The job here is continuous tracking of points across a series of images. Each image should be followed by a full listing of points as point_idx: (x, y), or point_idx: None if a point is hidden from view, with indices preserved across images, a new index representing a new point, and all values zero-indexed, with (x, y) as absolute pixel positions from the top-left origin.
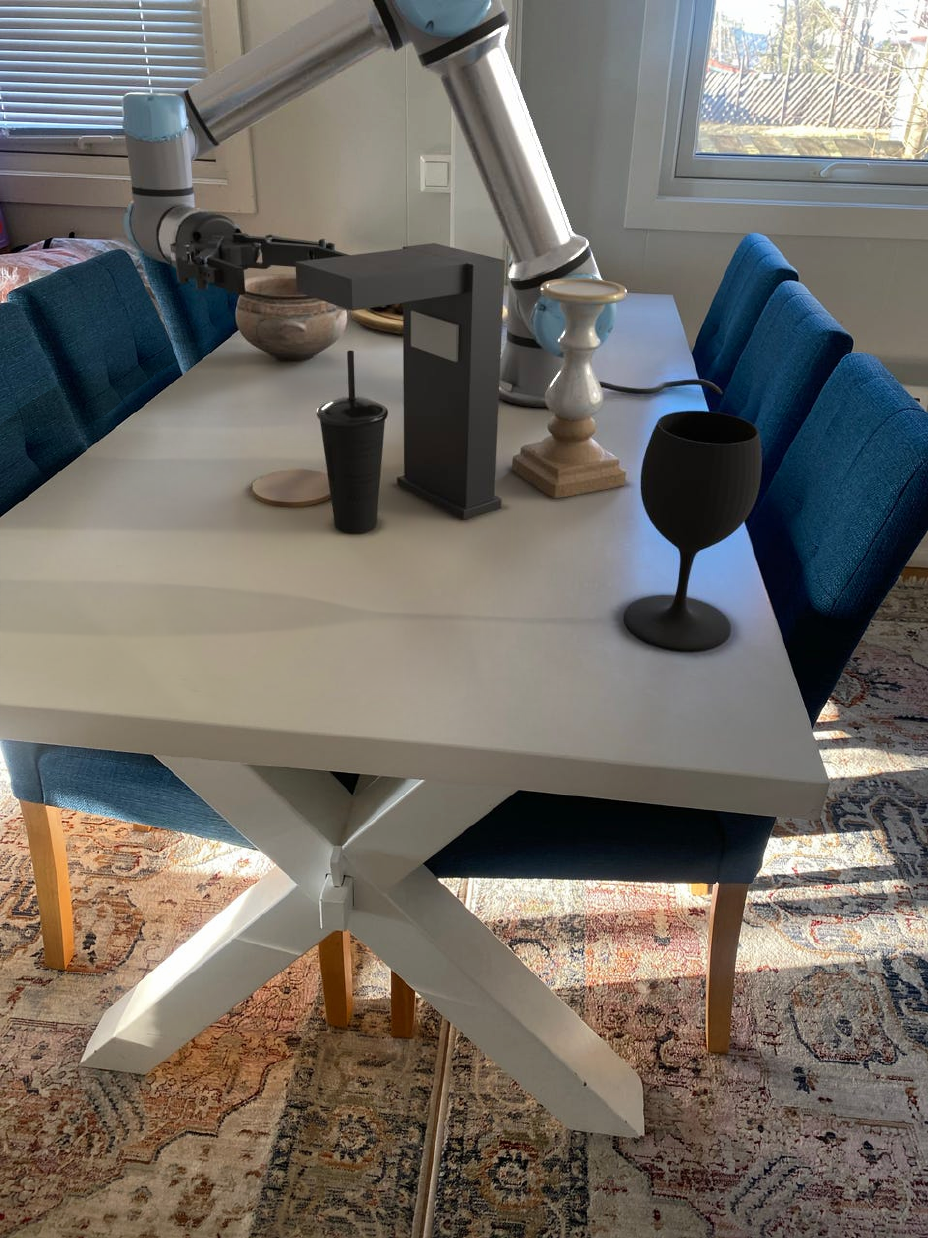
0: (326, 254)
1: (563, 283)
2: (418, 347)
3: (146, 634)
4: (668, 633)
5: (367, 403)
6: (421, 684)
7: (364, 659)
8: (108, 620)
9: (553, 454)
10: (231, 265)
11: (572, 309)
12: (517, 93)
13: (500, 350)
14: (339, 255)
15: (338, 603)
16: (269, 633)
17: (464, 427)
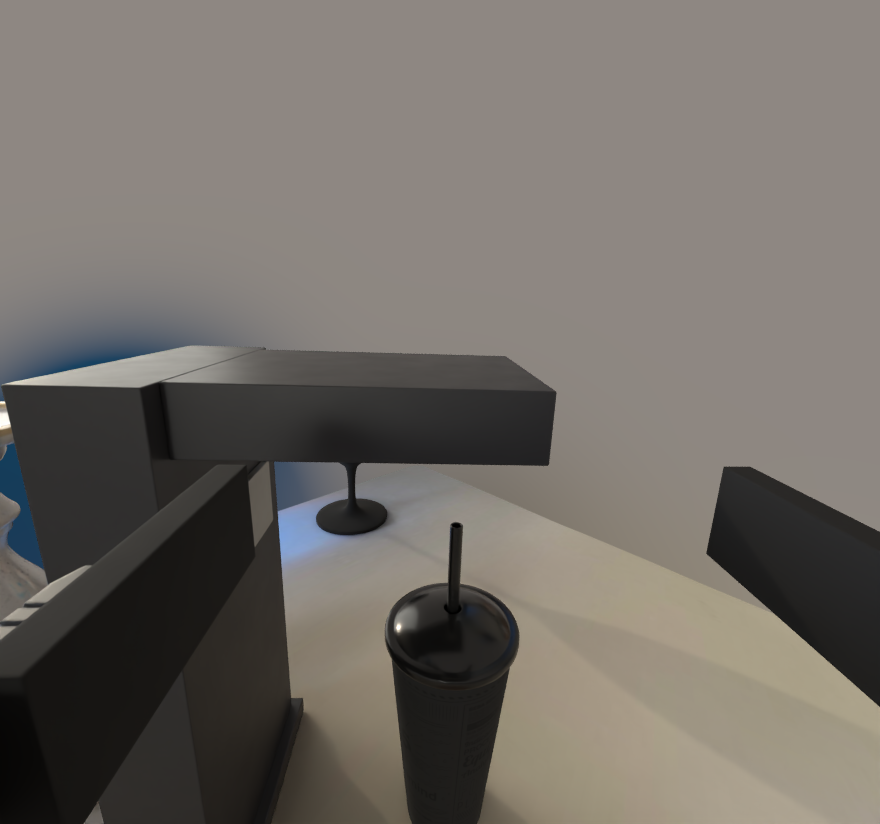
0: (160, 573)
1: None
2: None
3: (775, 690)
4: (373, 508)
5: (433, 595)
6: (536, 545)
7: (563, 574)
8: (845, 743)
9: None
10: (789, 491)
11: (2, 451)
12: None
13: None
14: (223, 493)
15: (556, 637)
16: (635, 631)
17: (280, 603)
